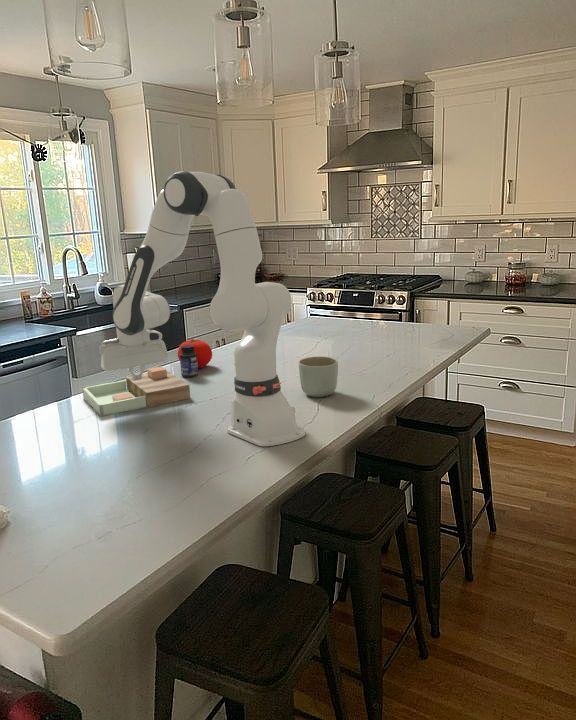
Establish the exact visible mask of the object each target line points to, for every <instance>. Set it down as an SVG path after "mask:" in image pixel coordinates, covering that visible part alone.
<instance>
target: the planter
mask: <svg viewBox="0 0 576 720" xmlns="http://www.w3.org/2000/svg"><path fill="white" fill-rule="evenodd" d="M298 372H299V373H298V374H299V380H300V386H301V387H300V388H301V389H302V391H303V392H304V394H306V395H307V396H309V397H311V396H312V398H323V397H324V396H326V397H329V396H330V395H332V394H333V393H334V392H335V391H336V389H337V385H338V374H339V360H338V359H337V358H335V357H331V356H310V357H305V358H302V359H300V360H299V361H298ZM328 395H329V396H328Z"/></svg>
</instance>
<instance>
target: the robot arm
mask: <svg viewBox="0 0 576 720" xmlns="http://www.w3.org/2000/svg"><path fill="white" fill-rule="evenodd" d="M154 203H155V204H154V206H153V208H152V212H151V216H150V220H149V224H148V229H147V232H146V234H145V236H144V238H143V240H142V243H141V244H140V246H139V247H138V249H137V250H136V252H135V254H134V256H133V259H132V261H131V264H130V266H129V269H128V273H127V276H126V279H125V283H124V284H123V285H118V286H116V287H115V288H114V289H113V293H112V303H113V310H112V314H111V318H112V322H113V324H114V326H115V329H116V338H113V339H109V340H103V341H102V342H100V344H99V346H98V352H99V355H100V365H101V369H102V370H103V371H105V372H112V371H118V370H124V369H126V370H127V372H128V373H129V374H130V376H132V380H133V381H135V380H141V379H143V378H142V374H144V371H145V370H146V365H151V364H157V363H162V362H166V361H167V359H168V357H169V356H168V351H167V347H166V346H167V345H166V343H165V342H164V340H163V334H162V332H160V331H158V330H154V328H156V327H159V326H162V325H164V324H166V323H168V321H169V320H170V316H171V306H170V303H169V302H168V300H167V299H166V298H165V297H164V296H163V295H162V294H156V293H153V292H150V291H148V286H149V284H150V281H151V279H152V278H153V276H154V274H155V273H156V272H157V271H158V270H159V269H160V268H162V267H163V266H165V265H166V264H168V263H170V262H172V261H175V260H176V259H177V258H178V257H179V256H181V255H182V253H183V251H184V249H185V248H186V245H187V242H188V238H189V234H190V230H191V224H192V221H193V220H194V219H193V218H194V217H195V216H201V217H202V216H203V217H204V216H205V217H208V219H209V220H210V223H211V225H212V229H213V234H214V235H213V236H214V239H215V243H216V248H217V253H218V257H219V263H220V279H219V285H218V288H217V291H216V293H215V295H214V296H213V298H212V299H211V301H210V306H209V307H210V308H209V312H210V314H209V315H210V317H211V319H212V321H213V323H214V325H215V326H216V327H218V329H219V330H221V331H222V330H223V331H231V332H234V331H236V332H239V331H243V330H244V332H243V334H242V336H241V339H240V340H239V342H238V343H237V344H236V346H235V348H234V353H233V354H234V355H233V356H234V372H235V376H234V378H233V379H234V382H233V386H234V391H235V393H234V394H235V395H234V397H233V398H232V401H231V405H230V406H231V407H230V408H231V409H230V410H231V411H230V412H231V414H230V426H228V427H227V434H229V435H233V436H234V437H237V438H239V439H242V440H245V441H247V442H249V443H251V444H254V445H256V446H259V447H270V446H271V447H273V446H279V445H282V444H287V443H290V442H294V441H297V440H298V439H301V438H303V437H304V436H305V435H306V431H305V429H303V428H302V427H301V425H299V424H298V423H297V421H296V415H295V414H296V408H295V405H290V403H289V402H288V399H287V397H285V396H284V395H283V393H282V390H281V389H282V386H281V385H282V383H281V382H280V378H279V375H278V374H277V351H276V350H277V343H278V340H279V339H278V338H279V334H280V330H281V327H282V325H283V323H284V319H285V318H286V317H287V315H288V314H289V313H290V311H291V309H292V303H293V300H292V299H293V298H292V296H291V293H290V291H289V289H288V288H287V286H285V285H284V284H282V283H278V282H271V281H263V282H259V283H256V279H255V278H256V272H257V269H258V266H259V265H260V263H262V259H263V252H262V251H263V250H262V248H261V242H260V238H259V233H258V229H257V228H258V227H257V225H256V220H255V217H254V214H253V211H252V207H251V206H250V203H249V200H248V198H247V196H246V195H245V193H244V192H243V191H241V190H239V189H237V188H236V186H235V183H234V182H233V181H232V180H231V179H230V178H228V177H226V176H223V175H222V174H213V173H207V172H204V171H185V170H184V171H178V172H175V173H173V174H171V175H169V176H168V177H167V179H165V182H164V185H163V189H161V190H160V192H159V194H158V195H157V198H156V200H155V202H154ZM135 367H138V368H139V369H138V373H134V368H135Z"/></svg>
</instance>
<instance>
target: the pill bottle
mask: <svg viewBox="0 0 576 720" xmlns="http://www.w3.org/2000/svg"><path fill="white" fill-rule="evenodd" d="M181 350H182V353H181V354H180V360H179V364H180V372H181V377H183V378H195V377H197V376H198V375H199V368H198V364H197V354H196V352H194V345H183V346H181Z"/></svg>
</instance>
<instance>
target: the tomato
mask: <svg viewBox="0 0 576 720" xmlns="http://www.w3.org/2000/svg"><path fill="white" fill-rule="evenodd" d="M183 345H194V352H196V354H197V364H198V369H201V368H203V367H205V366H207V365H208V364H210V362H211V360H212V359H213V351H212V348H211V347H210V345H209V344H208V342H205V341H203V340H201V339H193V338H192V339H189V340H186V341H183V342H182V343H181V344H180V345H179V347H178V350H177V359H178V361H180V354H181V353H182V350H181V346H183Z"/></svg>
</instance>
